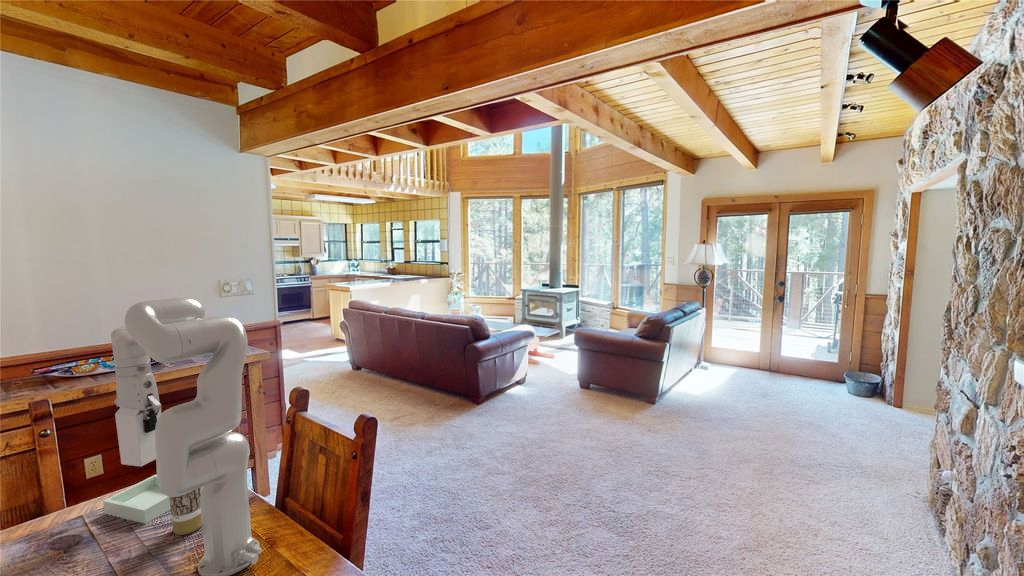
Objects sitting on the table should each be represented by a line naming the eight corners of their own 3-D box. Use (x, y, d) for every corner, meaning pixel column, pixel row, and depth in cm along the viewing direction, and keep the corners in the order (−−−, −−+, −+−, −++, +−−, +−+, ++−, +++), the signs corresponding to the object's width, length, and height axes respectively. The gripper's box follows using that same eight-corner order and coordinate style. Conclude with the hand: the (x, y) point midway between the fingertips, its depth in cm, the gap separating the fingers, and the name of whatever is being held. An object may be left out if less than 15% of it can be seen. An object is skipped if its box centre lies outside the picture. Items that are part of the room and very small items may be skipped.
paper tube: (184, 538, 111) (175, 448, 108) (167, 533, 113) (157, 444, 110) (210, 522, 118) (202, 436, 114) (193, 517, 120) (184, 433, 117)
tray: (195, 494, 130) (194, 482, 130) (146, 523, 117) (144, 510, 116) (157, 486, 135) (155, 474, 134) (104, 513, 121) (103, 500, 121)
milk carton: (141, 467, 119) (133, 402, 117) (121, 464, 121) (112, 400, 118) (166, 454, 126) (159, 392, 124) (146, 452, 127) (139, 391, 125)
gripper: (170, 368, 121) (177, 426, 124) (125, 363, 126) (132, 420, 128) (142, 376, 114) (149, 438, 116) (95, 371, 119) (103, 431, 121)
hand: (140, 429), depth 122 cm, fingers closed on milk carton, 7 cm apart
